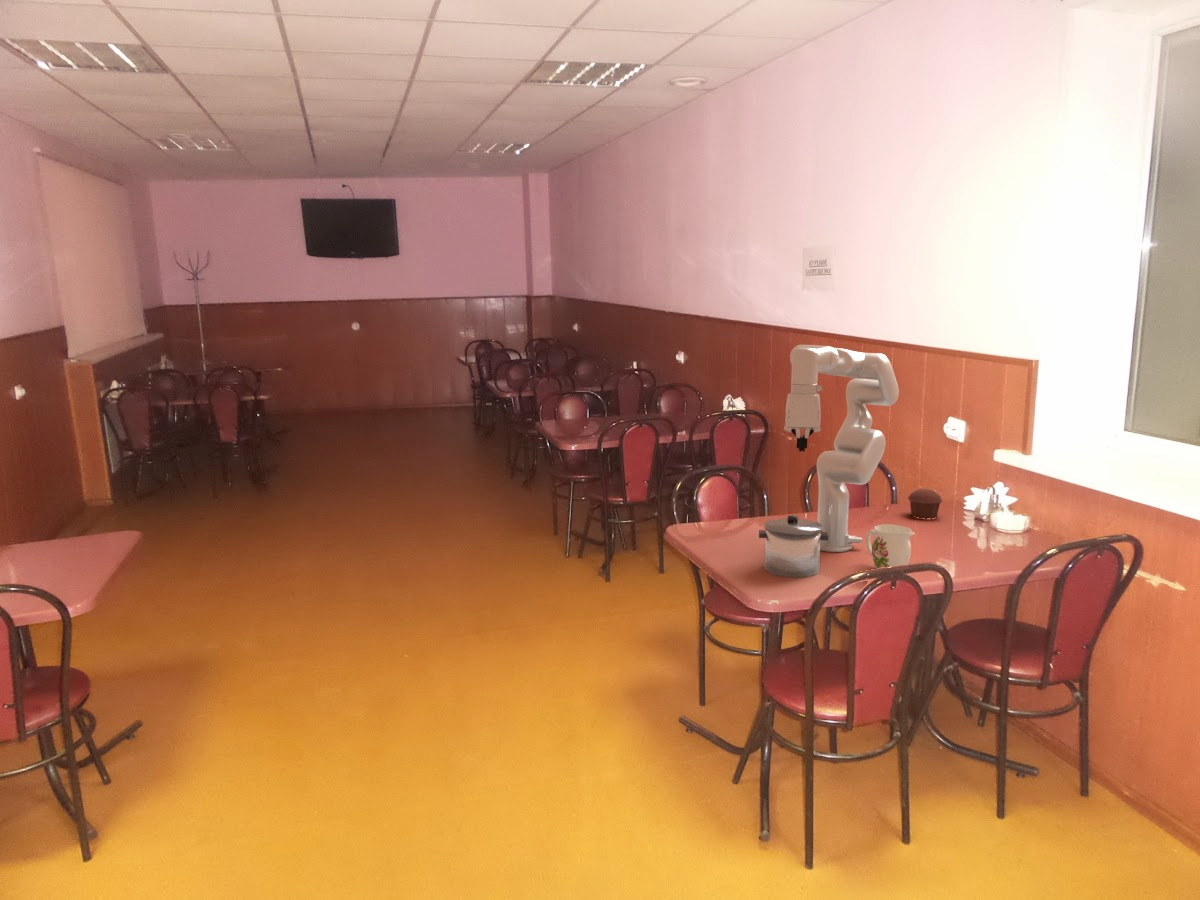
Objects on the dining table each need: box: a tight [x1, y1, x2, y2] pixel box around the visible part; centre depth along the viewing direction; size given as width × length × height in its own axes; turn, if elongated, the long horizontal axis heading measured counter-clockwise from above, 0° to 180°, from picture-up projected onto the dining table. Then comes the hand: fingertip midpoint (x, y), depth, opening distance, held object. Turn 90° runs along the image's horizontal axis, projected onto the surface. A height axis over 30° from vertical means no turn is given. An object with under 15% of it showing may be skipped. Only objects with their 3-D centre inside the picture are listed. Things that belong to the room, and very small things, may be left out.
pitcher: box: [865, 523, 916, 569], centre depth 255 cm, size 11×18×14 cm, turn 27°
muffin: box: [907, 488, 943, 519], centre depth 314 cm, size 12×11×10 cm
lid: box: [763, 514, 823, 535], centre depth 256 cm, size 18×17×3 cm
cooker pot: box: [758, 529, 828, 579], centre depth 258 cm, size 20×17×12 cm
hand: (801, 450), depth 258 cm, fingers closed
